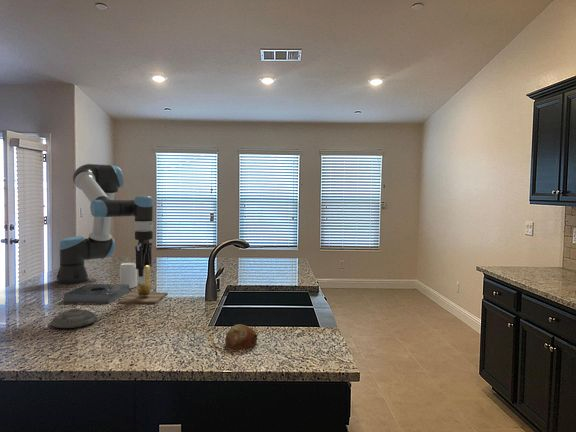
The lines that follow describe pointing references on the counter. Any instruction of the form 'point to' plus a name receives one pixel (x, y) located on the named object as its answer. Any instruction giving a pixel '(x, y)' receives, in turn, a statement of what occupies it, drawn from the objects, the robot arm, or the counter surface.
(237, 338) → the bread roll
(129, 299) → the walnut pad
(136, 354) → the counter surface
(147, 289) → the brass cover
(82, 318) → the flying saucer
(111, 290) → the bore block
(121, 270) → the white cylinder
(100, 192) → the robot arm
